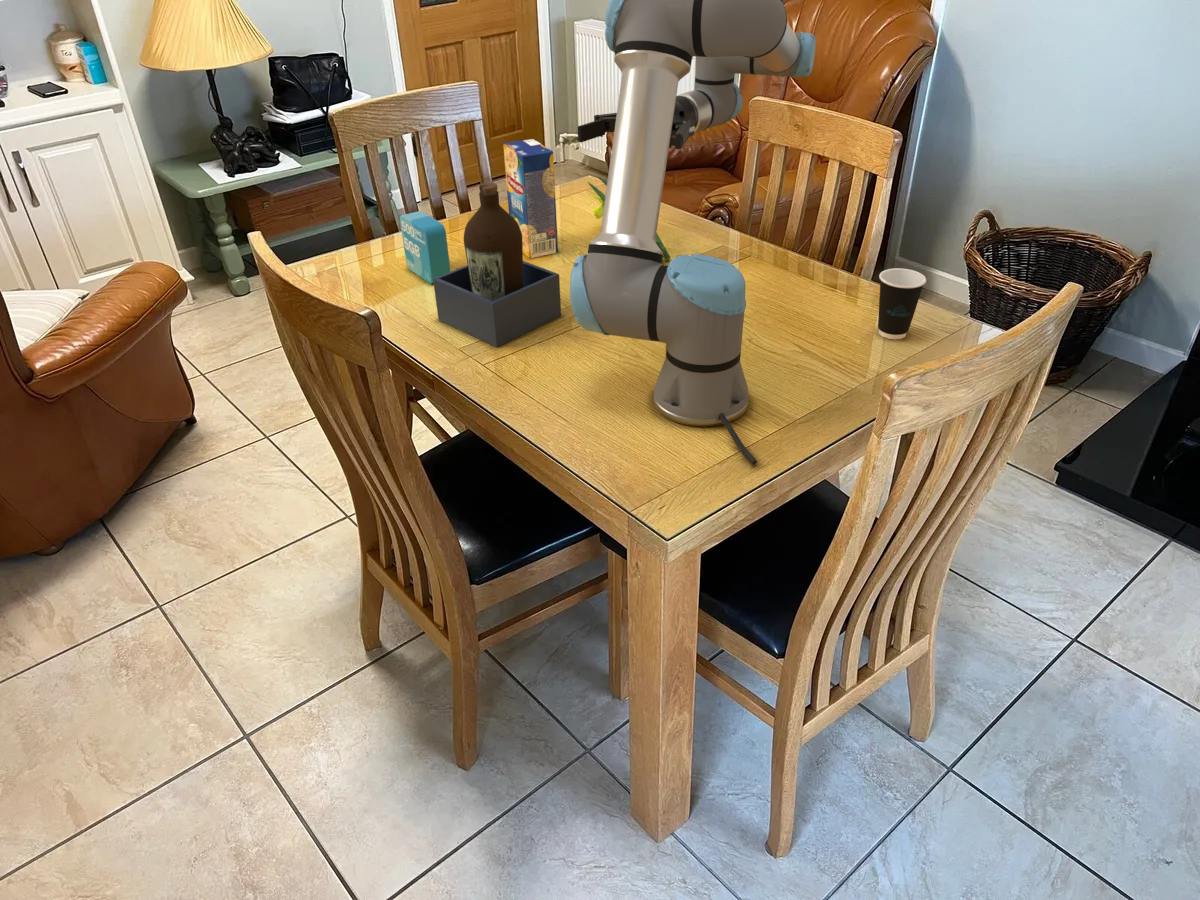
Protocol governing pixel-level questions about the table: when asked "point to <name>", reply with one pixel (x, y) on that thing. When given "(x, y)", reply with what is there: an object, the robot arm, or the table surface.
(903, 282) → the dixie cup
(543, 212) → the cracker box
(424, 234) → the data package
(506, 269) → the brown bottle
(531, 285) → the blue-grey hollow square box
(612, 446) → the table surface
